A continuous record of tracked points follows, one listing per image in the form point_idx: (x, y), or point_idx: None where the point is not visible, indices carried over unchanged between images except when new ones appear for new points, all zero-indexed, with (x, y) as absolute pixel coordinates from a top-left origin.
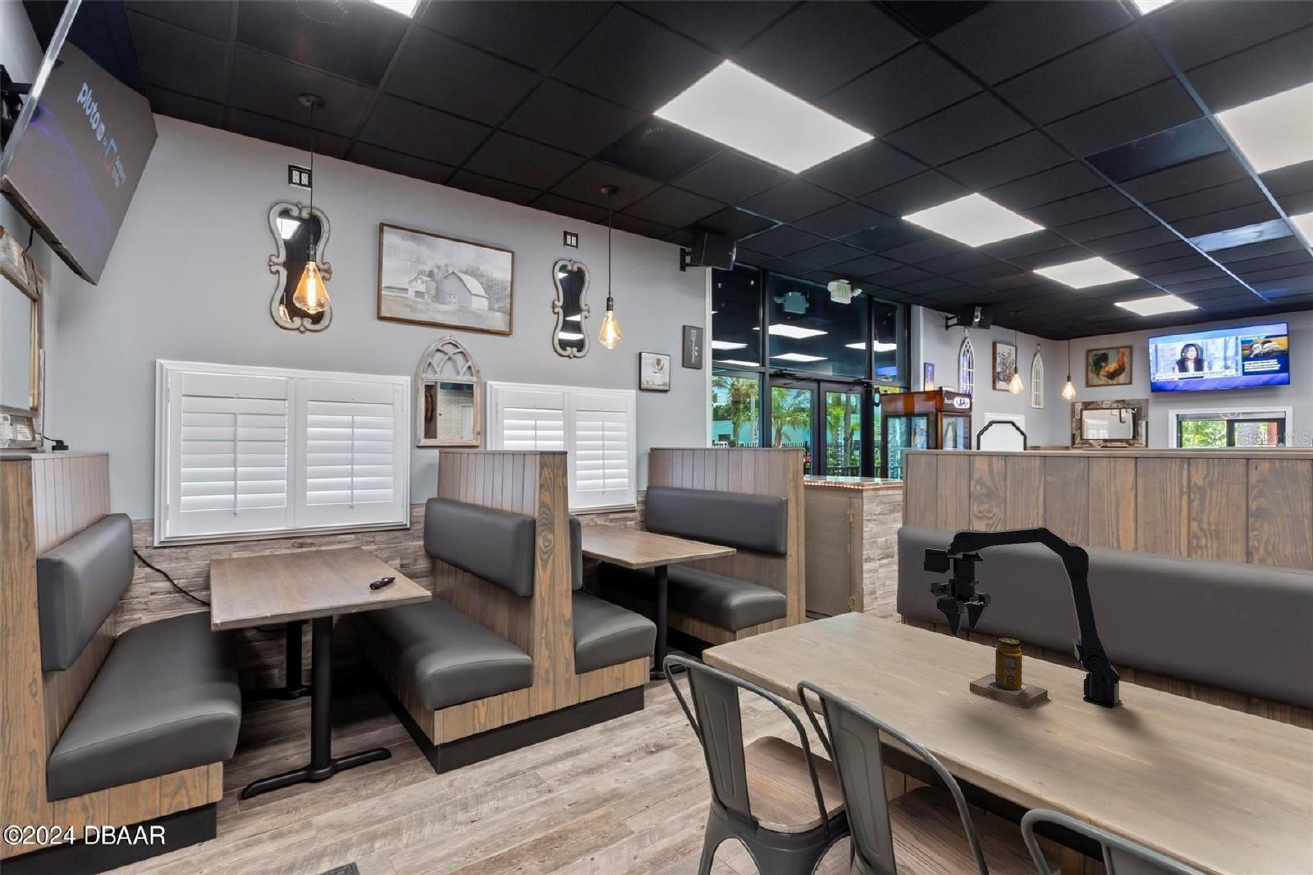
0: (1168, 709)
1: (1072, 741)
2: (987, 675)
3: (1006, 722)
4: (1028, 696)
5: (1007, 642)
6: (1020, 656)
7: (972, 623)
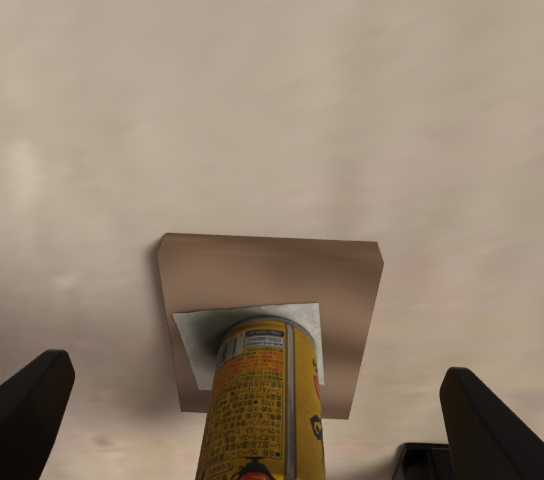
0: None
1: (103, 472)
2: (328, 263)
3: None
4: None
5: None
6: None
7: (466, 455)
